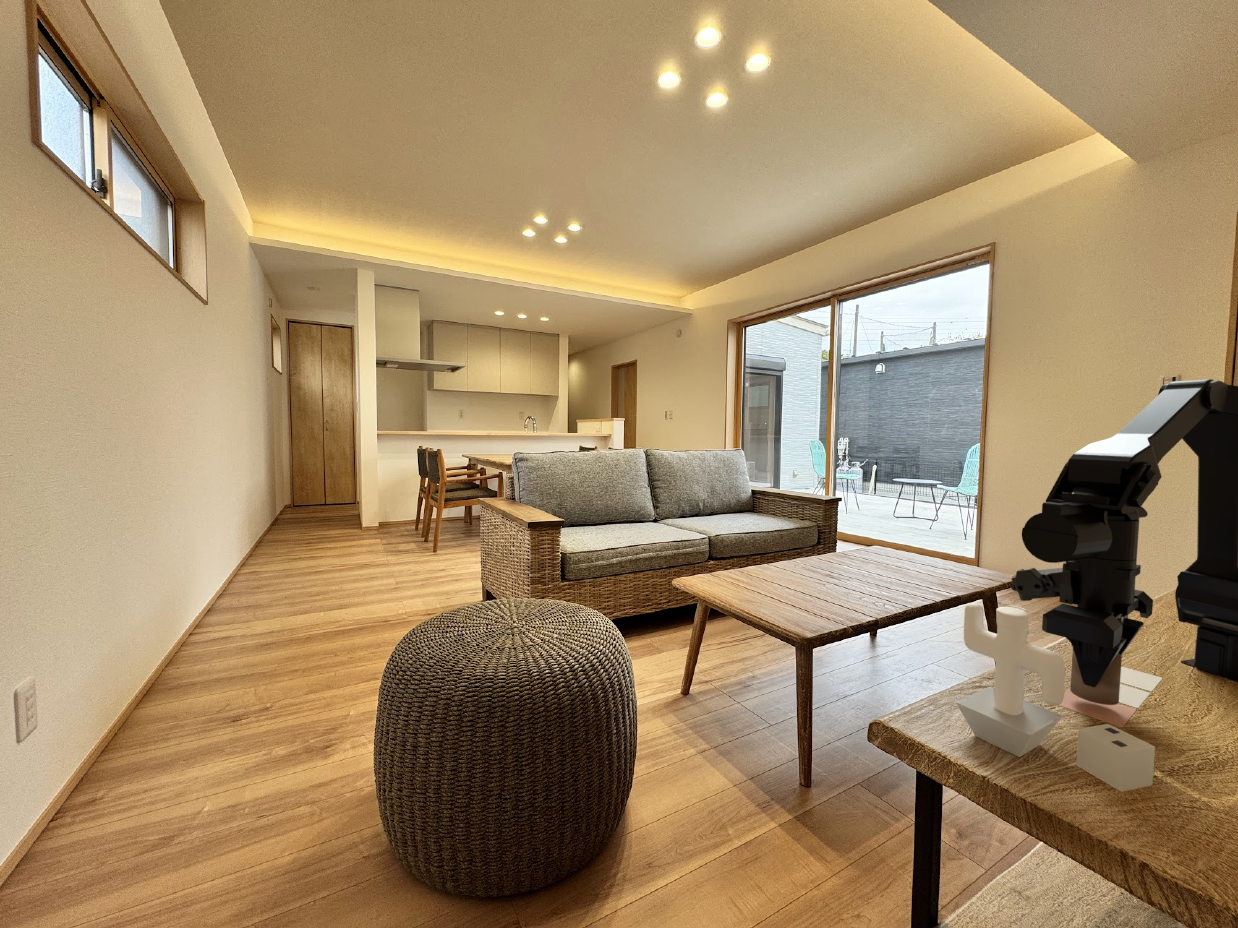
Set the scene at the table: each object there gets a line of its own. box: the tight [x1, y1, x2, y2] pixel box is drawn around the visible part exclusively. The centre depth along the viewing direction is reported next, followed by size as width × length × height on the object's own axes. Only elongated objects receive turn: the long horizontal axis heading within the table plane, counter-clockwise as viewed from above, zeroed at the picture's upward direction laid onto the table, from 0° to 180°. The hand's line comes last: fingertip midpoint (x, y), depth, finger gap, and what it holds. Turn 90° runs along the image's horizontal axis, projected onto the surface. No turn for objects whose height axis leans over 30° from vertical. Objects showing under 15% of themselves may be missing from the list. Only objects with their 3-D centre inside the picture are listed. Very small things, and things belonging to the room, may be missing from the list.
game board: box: [1058, 665, 1164, 728], centre depth 68 cm, size 22×8×1 cm, turn 125°
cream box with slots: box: [1075, 723, 1156, 792], centre depth 52 cm, size 4×4×4 cm
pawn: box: [1069, 649, 1123, 705], centre depth 63 cm, size 4×4×8 cm
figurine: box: [955, 602, 1066, 758], centre depth 57 cm, size 7×9×15 cm
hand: (1095, 679), depth 63 cm, fingers closed on pawn, 4 cm apart
